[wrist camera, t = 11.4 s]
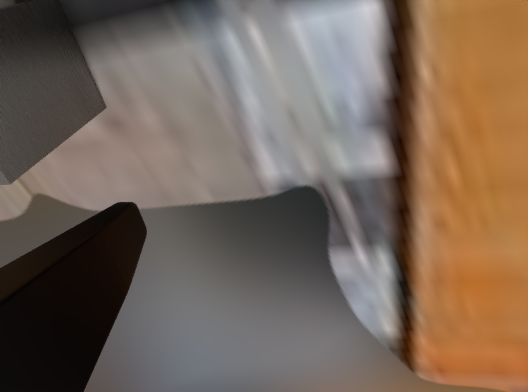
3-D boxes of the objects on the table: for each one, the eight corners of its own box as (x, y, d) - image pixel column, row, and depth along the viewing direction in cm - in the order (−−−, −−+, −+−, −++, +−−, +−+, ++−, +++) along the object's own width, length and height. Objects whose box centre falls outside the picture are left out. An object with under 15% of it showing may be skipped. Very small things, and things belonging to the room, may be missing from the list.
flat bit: (56, -5, 19) (-92, 34, 12) (106, 107, 22) (10, 184, 16) (15, 3, 19) (-144, 46, 13) (70, 112, 23) (-36, 187, 16)
